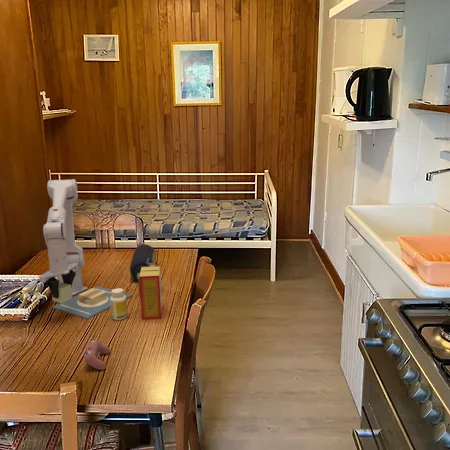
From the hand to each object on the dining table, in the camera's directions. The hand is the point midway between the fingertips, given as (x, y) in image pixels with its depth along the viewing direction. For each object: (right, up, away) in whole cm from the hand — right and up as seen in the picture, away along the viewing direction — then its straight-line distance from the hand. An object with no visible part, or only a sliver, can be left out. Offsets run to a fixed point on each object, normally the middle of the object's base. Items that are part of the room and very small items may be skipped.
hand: (62, 294), depth 160 cm
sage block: (0, -2, 0) cm, 2 cm away
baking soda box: (+30, -7, +5) cm, 31 cm away
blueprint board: (+7, -5, +14) cm, 16 cm away
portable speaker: (+20, +3, +43) cm, 48 cm away
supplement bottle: (+19, -8, +2) cm, 21 cm away
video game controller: (+19, -16, -25) cm, 35 cm away
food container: (+27, -3, +22) cm, 35 cm away
